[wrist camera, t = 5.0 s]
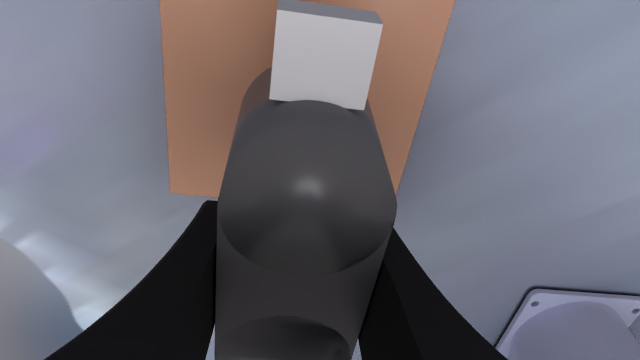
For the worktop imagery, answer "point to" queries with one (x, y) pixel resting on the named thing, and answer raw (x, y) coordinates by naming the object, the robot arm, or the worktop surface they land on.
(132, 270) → the worktop surface
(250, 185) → the charger plug
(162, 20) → the terracotta trivet
